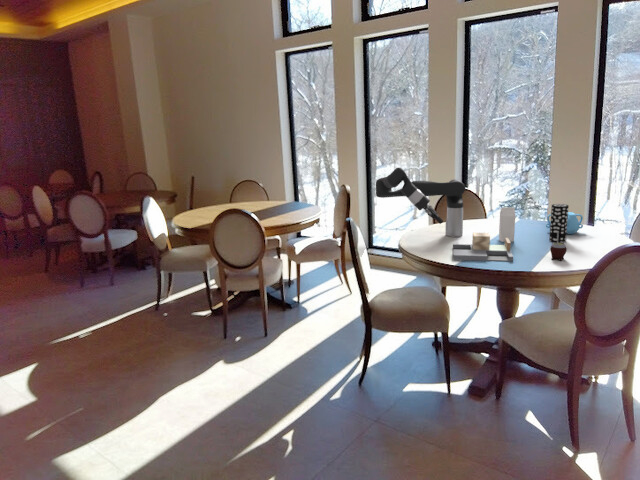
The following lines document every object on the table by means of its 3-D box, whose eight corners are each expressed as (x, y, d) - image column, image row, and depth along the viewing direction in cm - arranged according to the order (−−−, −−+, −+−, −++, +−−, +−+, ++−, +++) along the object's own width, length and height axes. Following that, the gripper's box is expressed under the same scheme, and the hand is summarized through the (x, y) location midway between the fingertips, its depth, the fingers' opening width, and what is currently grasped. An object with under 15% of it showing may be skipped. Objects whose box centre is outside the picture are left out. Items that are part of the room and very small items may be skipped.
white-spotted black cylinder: (546, 239, 280) (548, 204, 275) (560, 238, 281) (563, 203, 276) (554, 243, 272) (556, 207, 267) (568, 242, 273) (571, 206, 268)
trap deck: (453, 260, 249) (453, 247, 248) (452, 248, 270) (453, 236, 268) (512, 261, 242) (513, 248, 241) (507, 249, 263) (508, 237, 262)
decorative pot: (562, 228, 305) (563, 206, 301) (585, 233, 290) (587, 210, 287) (542, 231, 298) (543, 209, 295) (565, 237, 284) (566, 213, 281)
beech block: (473, 249, 257) (473, 236, 256) (472, 245, 265) (472, 232, 263) (489, 249, 256) (490, 236, 254) (488, 245, 263) (488, 232, 261)
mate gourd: (560, 256, 247) (562, 227, 243) (569, 261, 239) (572, 230, 236) (546, 257, 246) (548, 228, 242) (555, 262, 239) (557, 231, 235)
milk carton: (514, 241, 278) (515, 208, 273) (500, 241, 279) (502, 208, 275) (511, 238, 285) (513, 206, 280) (498, 238, 286) (500, 206, 282)
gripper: (414, 202, 269) (436, 224, 269) (412, 206, 257) (436, 230, 257) (424, 192, 267) (447, 215, 267) (423, 196, 254) (447, 220, 254)
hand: (441, 222), depth 262 cm, fingers closed
